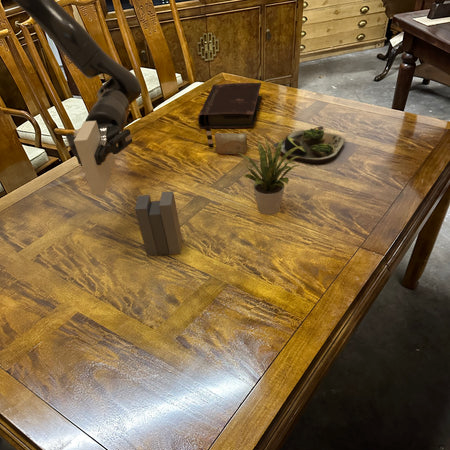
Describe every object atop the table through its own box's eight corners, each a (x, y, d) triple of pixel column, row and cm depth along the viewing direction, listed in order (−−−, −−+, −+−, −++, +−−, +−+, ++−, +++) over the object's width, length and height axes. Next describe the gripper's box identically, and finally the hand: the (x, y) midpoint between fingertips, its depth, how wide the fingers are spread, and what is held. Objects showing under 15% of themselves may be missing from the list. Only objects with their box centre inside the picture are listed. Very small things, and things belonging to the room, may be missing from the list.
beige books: (86, 170, 121) (72, 131, 112) (108, 161, 123) (97, 122, 115) (93, 176, 118) (80, 136, 109) (117, 166, 121) (105, 127, 112)
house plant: (316, 207, 99) (323, 141, 87) (278, 235, 93) (279, 167, 81) (271, 187, 107) (271, 124, 95) (232, 211, 100) (228, 147, 89)
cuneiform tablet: (209, 147, 125) (249, 146, 123) (206, 157, 122) (247, 156, 120) (205, 126, 119) (247, 125, 117) (203, 136, 116) (245, 135, 114)
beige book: (104, 194, 81) (86, 139, 74) (92, 195, 82) (73, 140, 74) (111, 173, 87) (96, 120, 79) (100, 174, 87) (83, 121, 79)
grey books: (180, 253, 91) (170, 204, 82) (147, 255, 91) (133, 207, 82) (182, 239, 94) (173, 191, 85) (150, 241, 95) (137, 193, 86)
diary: (198, 129, 134) (196, 113, 130) (212, 98, 151) (210, 83, 147) (256, 128, 131) (255, 112, 127) (263, 97, 148) (263, 82, 144)
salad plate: (296, 128, 129) (296, 113, 126) (352, 137, 122) (355, 122, 119) (267, 156, 118) (267, 140, 115) (328, 168, 111) (329, 152, 108)
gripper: (69, 106, 87) (45, 144, 75) (134, 100, 86) (121, 138, 74) (80, 140, 93) (60, 182, 81) (142, 135, 92) (131, 176, 80)
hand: (89, 161), depth 78 cm, fingers closed on beige book, 2 cm apart
